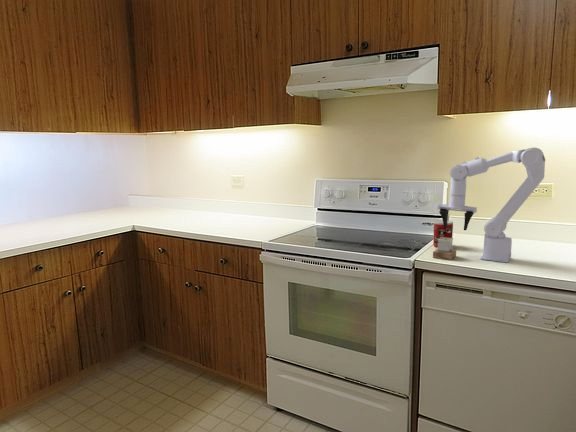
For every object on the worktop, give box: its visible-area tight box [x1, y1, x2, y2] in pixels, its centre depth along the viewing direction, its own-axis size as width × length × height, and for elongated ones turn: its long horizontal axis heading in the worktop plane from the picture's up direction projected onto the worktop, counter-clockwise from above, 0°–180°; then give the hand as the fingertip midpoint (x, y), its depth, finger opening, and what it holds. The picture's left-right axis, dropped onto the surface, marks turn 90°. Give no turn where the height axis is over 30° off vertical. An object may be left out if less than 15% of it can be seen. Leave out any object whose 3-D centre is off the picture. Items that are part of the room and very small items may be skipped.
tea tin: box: [438, 237, 454, 252], centre depth 164 cm, size 5×5×5 cm
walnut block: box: [432, 247, 457, 261], centre depth 165 cm, size 7×7×2 cm
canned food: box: [432, 219, 454, 249], centre depth 181 cm, size 8×8×11 cm
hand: (455, 228), depth 168 cm, fingers open, 7 cm apart
